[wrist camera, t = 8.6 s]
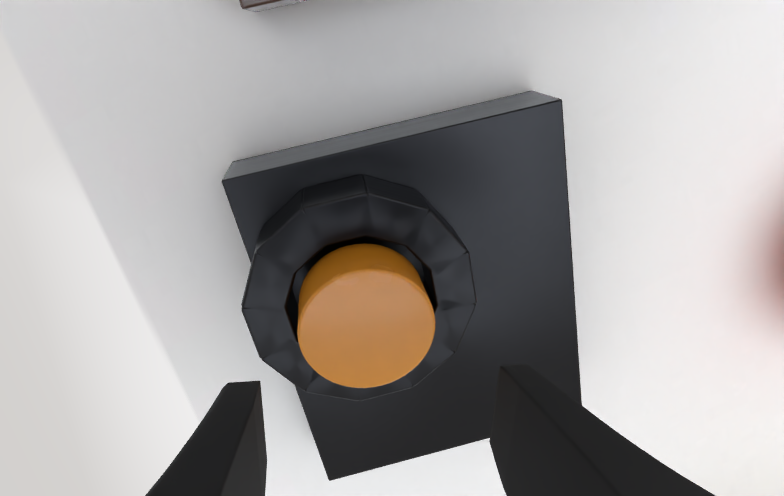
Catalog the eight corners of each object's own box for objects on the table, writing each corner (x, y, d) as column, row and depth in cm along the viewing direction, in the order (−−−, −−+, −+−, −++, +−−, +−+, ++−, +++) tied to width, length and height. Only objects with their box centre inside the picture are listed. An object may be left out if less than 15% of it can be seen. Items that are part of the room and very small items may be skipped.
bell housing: (321, 440, 21) (323, 525, 18) (224, 163, 16) (199, 203, 13) (558, 377, 22) (607, 448, 18) (533, 90, 17) (593, 108, 13)
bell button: (317, 364, 16) (318, 403, 14) (283, 260, 14) (279, 290, 13) (432, 335, 16) (446, 369, 14) (410, 228, 14) (422, 254, 13)
